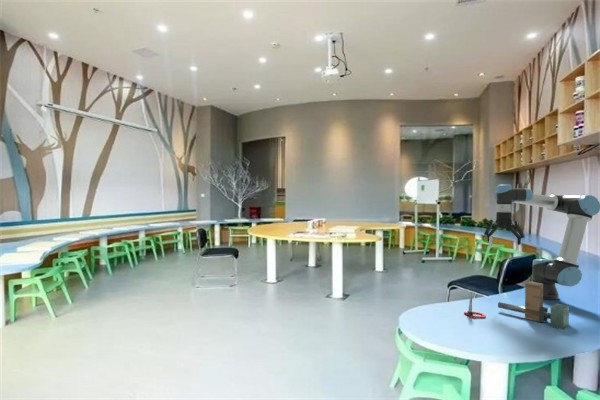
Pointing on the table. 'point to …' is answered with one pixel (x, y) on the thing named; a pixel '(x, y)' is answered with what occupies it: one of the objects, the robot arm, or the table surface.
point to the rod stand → (546, 314)
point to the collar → (542, 314)
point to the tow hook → (469, 312)
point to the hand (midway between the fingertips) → (503, 249)
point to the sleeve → (533, 300)
